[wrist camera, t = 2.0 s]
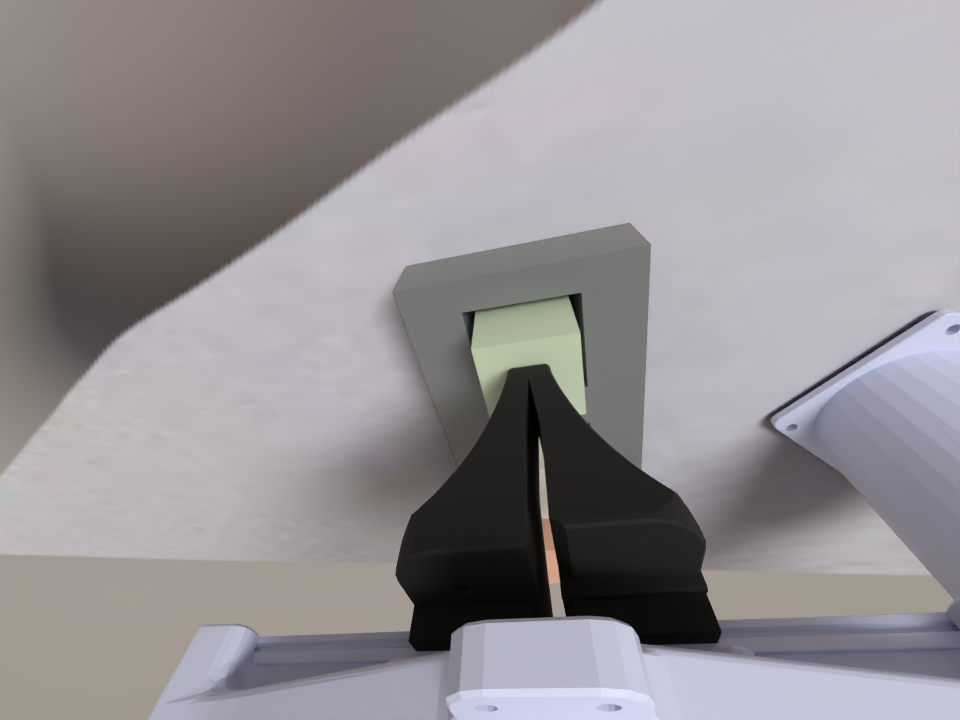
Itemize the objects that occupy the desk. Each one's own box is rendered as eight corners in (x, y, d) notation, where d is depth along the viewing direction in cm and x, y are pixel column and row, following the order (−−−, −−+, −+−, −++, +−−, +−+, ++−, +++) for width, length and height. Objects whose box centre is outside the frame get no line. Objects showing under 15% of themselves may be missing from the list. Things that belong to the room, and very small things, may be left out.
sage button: (573, 366, 17) (586, 414, 14) (493, 377, 17) (491, 425, 15) (567, 292, 15) (580, 332, 12) (475, 307, 15) (471, 349, 13)
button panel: (626, 521, 26) (637, 558, 24) (495, 531, 27) (494, 567, 25) (629, 222, 14) (651, 244, 12) (406, 266, 16) (392, 291, 14)
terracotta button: (588, 531, 24) (598, 581, 21) (531, 535, 24) (534, 584, 22) (585, 496, 22) (596, 547, 19) (523, 502, 22) (526, 552, 20)
